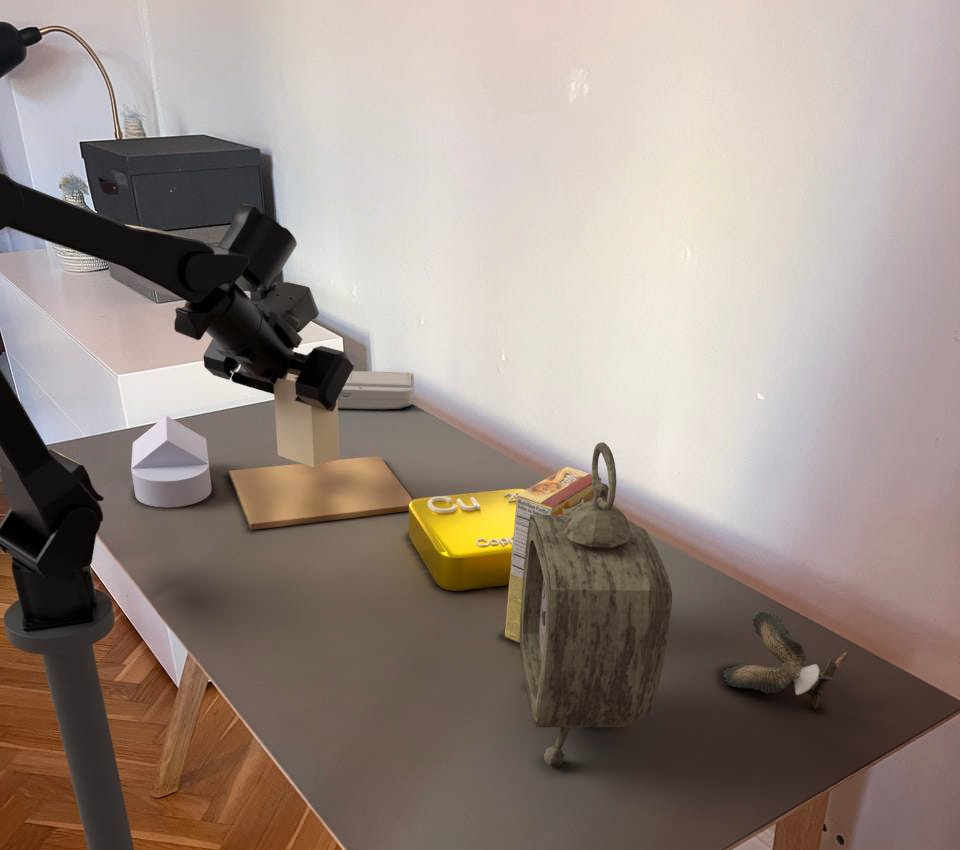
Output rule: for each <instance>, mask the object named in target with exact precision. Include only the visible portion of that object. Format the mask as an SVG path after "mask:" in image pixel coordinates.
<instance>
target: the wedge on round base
mask: <svg viewBox="0 0 960 850" xmlns="http://www.w3.org/2000/svg"><path fill="white" fill-rule="evenodd" d="M131 450H132V452H131V466H130V467H131V468H130V469H131V477H132V484H133V489H134V495H135V498H136V499H137V501H138V502H140V503H142V504H143V505H146V506H150V507H156V508H157V507H158V508H181V507H185V506H186V507H187V506H190V505H193V504H197V503H199V502H201V501H203V500H205V499H207V498H208V497H209V496H210V495H211V493H212V481H211V471H210V463H209V454H208V443H207V438H206V437H204V436H202V435H200V434H198V433H197V432H195V431H193V430H191V429H190V428H188V427H187V426H185V425H183V424H181V423H180V422H178V421H176V420H175V419H173V418H171V417H170V416H168V415H165V416H164V417H163V418H161V419H160V420H159V421H158V422H157V423H156V424H154V425H153V426H152V427H150V428H149V429H148V430H147V431H145V432H144V433H143V434H142V435H141V436H140V437H138V438H137V439H135V440H134V441H133V442H132V449H131Z"/></svg>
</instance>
